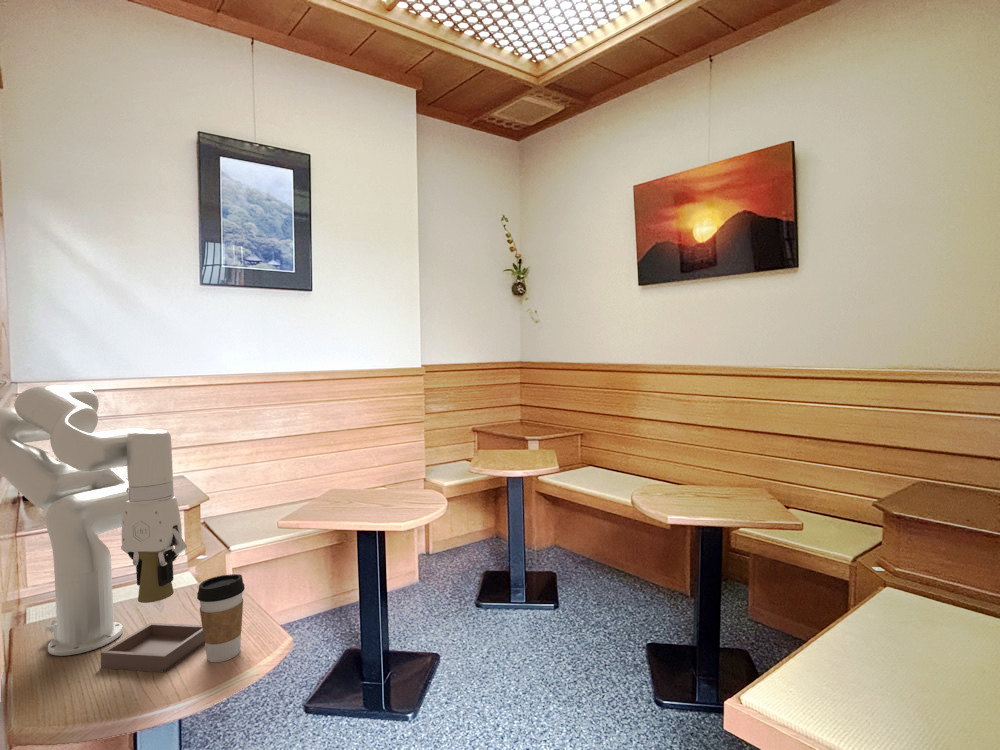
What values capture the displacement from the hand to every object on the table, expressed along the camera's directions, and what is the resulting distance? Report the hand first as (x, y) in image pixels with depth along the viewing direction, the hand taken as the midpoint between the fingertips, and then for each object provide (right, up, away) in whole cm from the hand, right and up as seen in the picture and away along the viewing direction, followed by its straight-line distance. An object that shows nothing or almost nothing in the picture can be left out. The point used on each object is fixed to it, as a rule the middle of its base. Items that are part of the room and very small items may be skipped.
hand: (155, 582), depth 106 cm
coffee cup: (+14, -14, -1) cm, 20 cm away
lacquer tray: (0, -15, +1) cm, 15 cm away
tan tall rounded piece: (0, -3, 0) cm, 3 cm away
